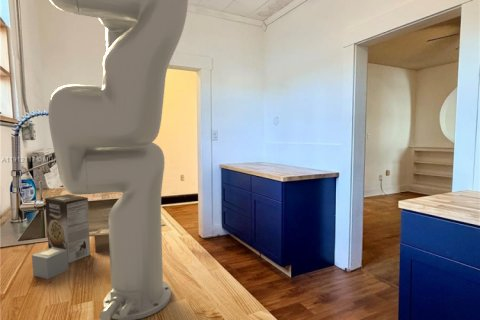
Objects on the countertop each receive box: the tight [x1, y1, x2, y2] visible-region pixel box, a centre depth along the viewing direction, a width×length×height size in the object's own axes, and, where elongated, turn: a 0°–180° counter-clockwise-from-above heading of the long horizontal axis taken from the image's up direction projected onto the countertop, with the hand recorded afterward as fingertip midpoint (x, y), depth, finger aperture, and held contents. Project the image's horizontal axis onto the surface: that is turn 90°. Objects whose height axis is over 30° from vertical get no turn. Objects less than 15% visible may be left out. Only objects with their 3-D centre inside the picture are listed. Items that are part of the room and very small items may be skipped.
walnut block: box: [93, 228, 110, 253], centre depth 81 cm, size 5×5×5 cm
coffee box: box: [44, 193, 91, 264], centre depth 75 cm, size 9×6×16 cm
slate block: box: [31, 247, 69, 280], centre depth 67 cm, size 5×5×5 cm
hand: (124, 125), depth 77 cm, fingers closed
